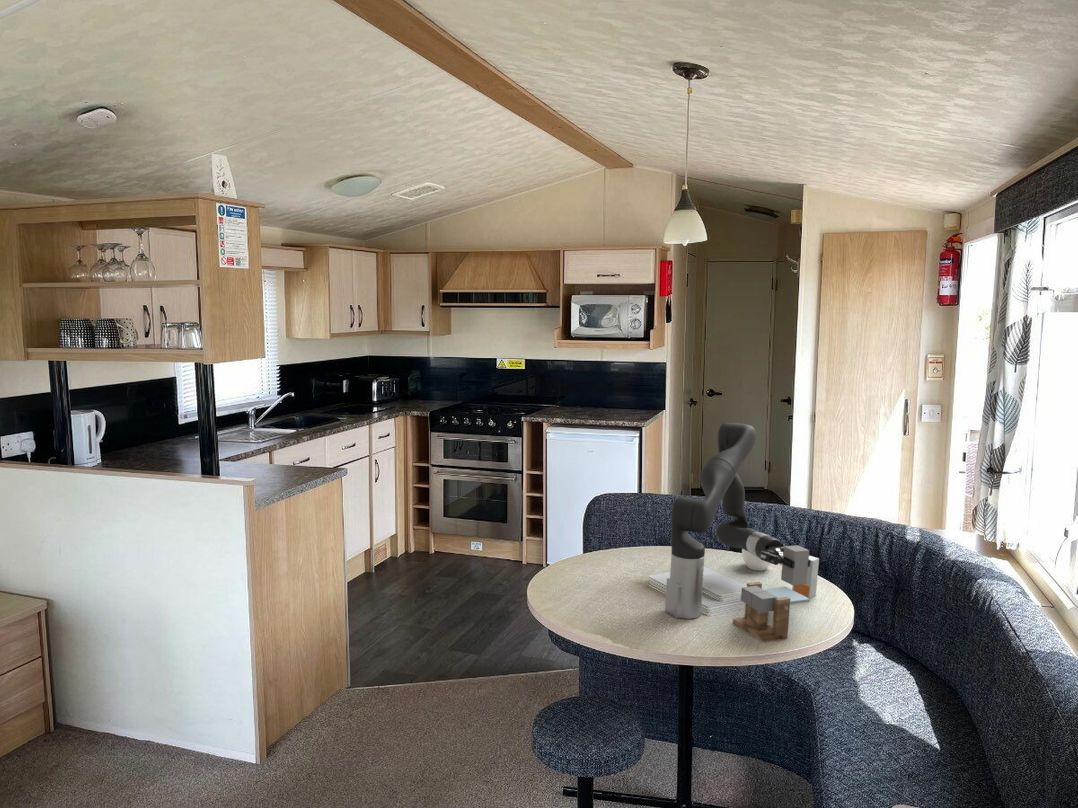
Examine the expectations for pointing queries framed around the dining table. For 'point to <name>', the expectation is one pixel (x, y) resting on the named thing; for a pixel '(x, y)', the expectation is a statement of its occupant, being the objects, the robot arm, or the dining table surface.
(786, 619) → the trapdoor frame
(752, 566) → the lidded jar
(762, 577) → the dining table surface
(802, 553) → the basalt block
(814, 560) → the skincare box
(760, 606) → the trapdoor
